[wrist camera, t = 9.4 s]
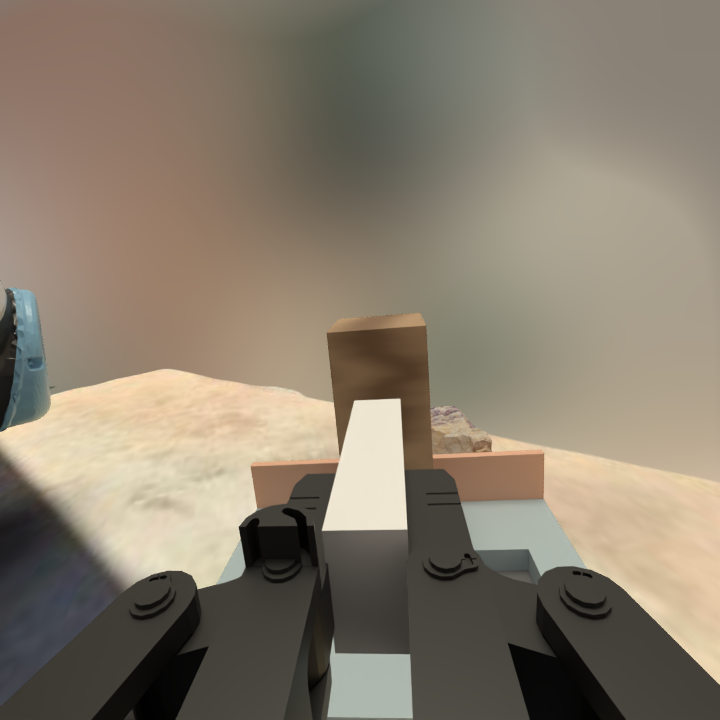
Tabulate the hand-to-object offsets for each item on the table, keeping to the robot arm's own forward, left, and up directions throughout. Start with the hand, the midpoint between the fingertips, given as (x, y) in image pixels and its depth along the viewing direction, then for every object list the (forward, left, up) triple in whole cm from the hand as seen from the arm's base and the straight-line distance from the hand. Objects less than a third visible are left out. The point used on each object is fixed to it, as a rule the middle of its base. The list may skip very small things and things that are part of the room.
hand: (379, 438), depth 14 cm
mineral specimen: (+5, +28, -17) cm, 33 cm away
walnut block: (-1, +15, -14) cm, 21 cm away
